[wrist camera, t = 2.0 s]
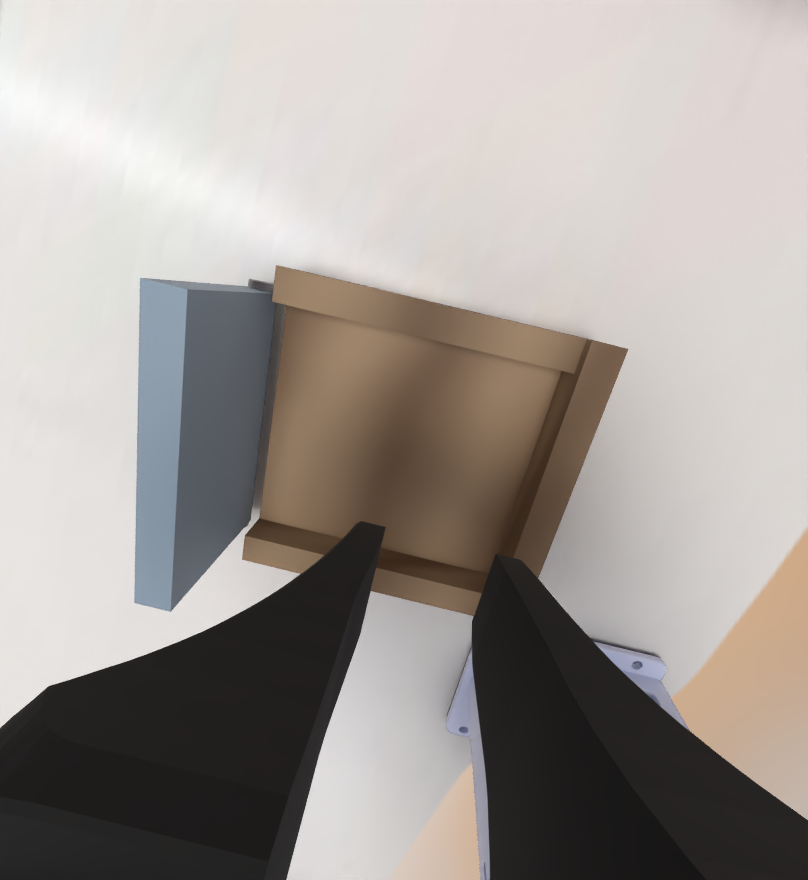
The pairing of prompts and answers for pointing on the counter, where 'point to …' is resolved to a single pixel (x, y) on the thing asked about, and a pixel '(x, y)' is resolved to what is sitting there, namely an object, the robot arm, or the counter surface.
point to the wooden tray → (422, 436)
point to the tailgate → (196, 426)
